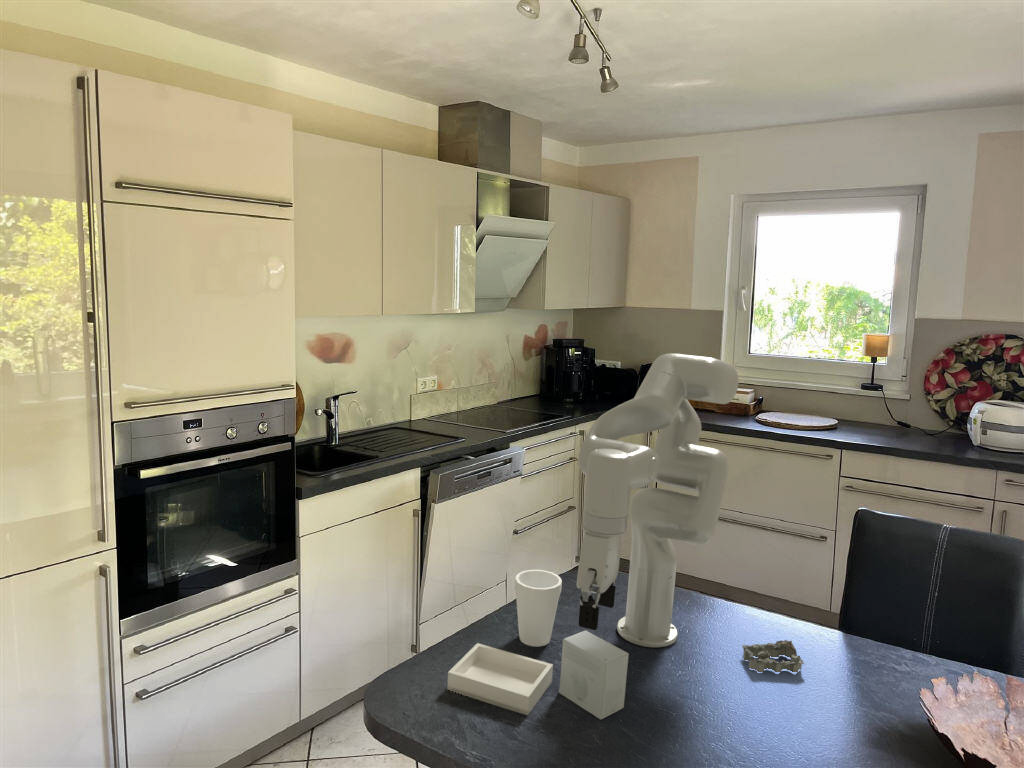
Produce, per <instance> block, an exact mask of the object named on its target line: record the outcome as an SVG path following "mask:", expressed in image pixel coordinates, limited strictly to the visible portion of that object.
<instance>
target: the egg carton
mask: <svg viewBox="0 0 1024 768" xmlns="http://www.w3.org/2000/svg"><path fill="white" fill-rule="evenodd" d="M742 650H743V655H742V659H743V658H744V660H748V661H749V662H748V667H749V668H751V669H755V670H757V671H758V672H763V671H764V669H767V668H768V669H772V670H774V671H775V672H781V670H782V669H787V670H790V671H792V672H798V670H799V669H801V670H802V666H803V665H805V662H804V660H803V659H802V658H801V655H797V649H796V647H795V646H794V644H793V640H787V639H786V640H785V639H784V640H778V641H777V640H776V642H775V643H772V642H768V643H764V644H760V643H756V644H751V645H750V644H749V645H748V644H746V645H745V644H742ZM779 655H785V656H787V657H790V658H791V660H787V661H785V660H784V659H782V661H778V660H776V659H771V658H770V656H771V657H779ZM753 656H755V657H758V658H757V659H756V658H754V657H753ZM779 658H780V657H779ZM744 660H743V661H744ZM777 662H778V663H777ZM802 664H803V665H802ZM749 668H748V669H749ZM764 672H765V671H764ZM764 672H763V673H764ZM781 673H782V672H781ZM798 673H799V672H798Z"/></svg>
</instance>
